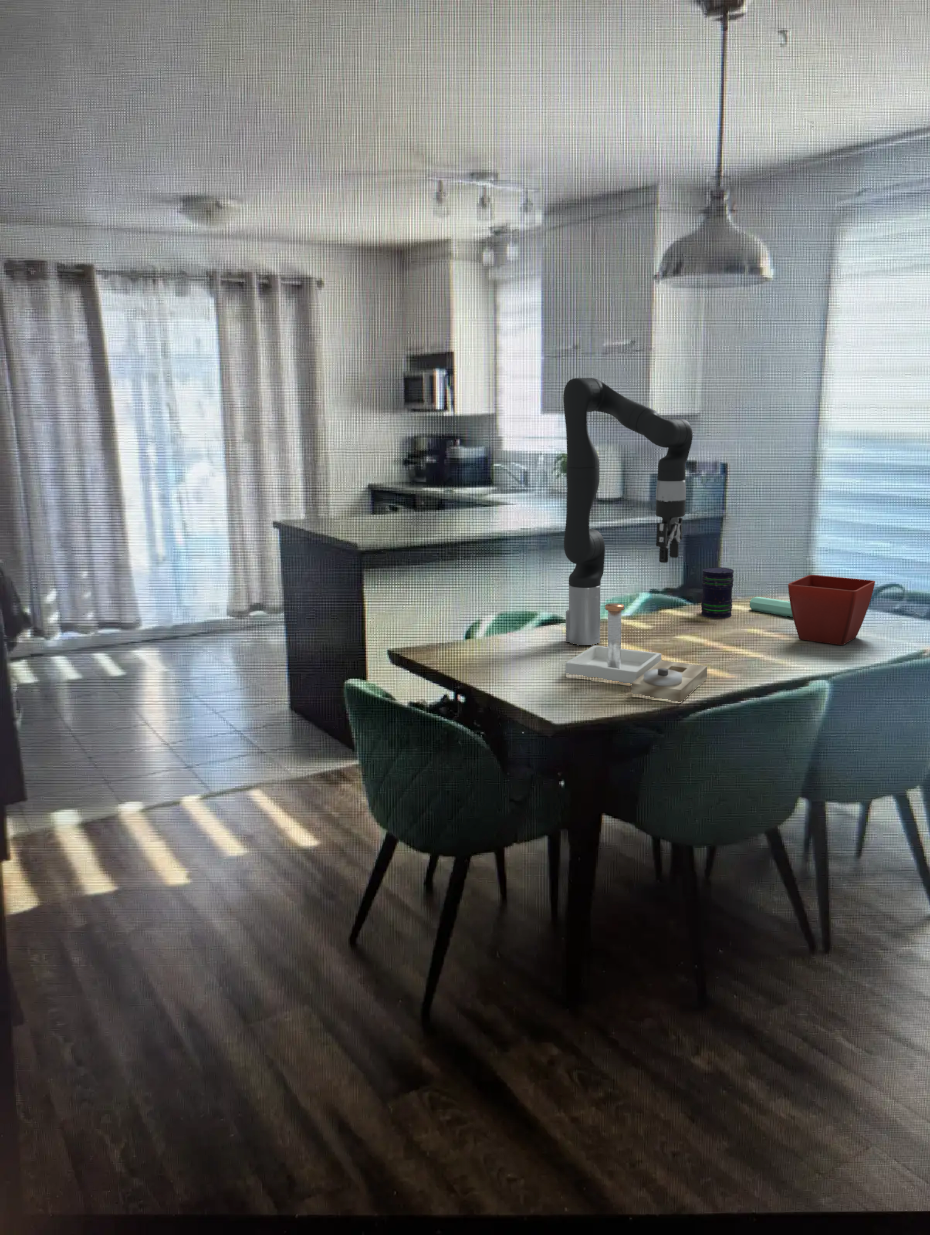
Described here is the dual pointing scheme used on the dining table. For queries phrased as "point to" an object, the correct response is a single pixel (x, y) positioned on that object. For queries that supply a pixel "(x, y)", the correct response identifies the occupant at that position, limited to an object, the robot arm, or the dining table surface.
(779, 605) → the mint green rod
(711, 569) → the storage jar
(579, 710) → the dining table surface
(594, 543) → the robot arm
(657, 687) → the wooden peg base
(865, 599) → the plant pot
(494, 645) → the dining table surface
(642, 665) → the tray
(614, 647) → the lock pin
